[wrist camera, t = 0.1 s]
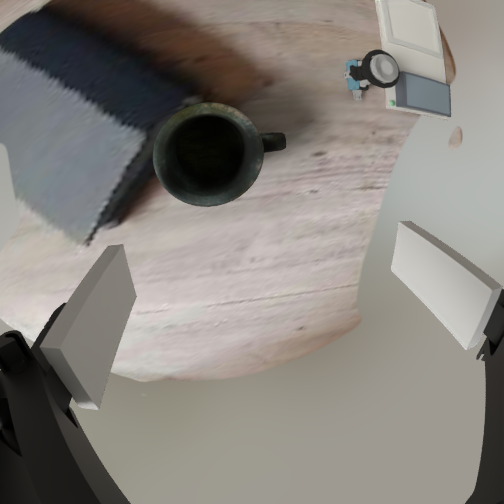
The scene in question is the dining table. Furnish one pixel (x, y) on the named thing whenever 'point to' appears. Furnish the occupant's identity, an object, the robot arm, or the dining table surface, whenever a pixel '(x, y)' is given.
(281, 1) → the dining table surface
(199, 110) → the mug
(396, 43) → the board
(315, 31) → the dining table surface
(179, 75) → the dining table surface
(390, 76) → the push button
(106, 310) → the robot arm
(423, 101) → the blue-grey rectangular block
